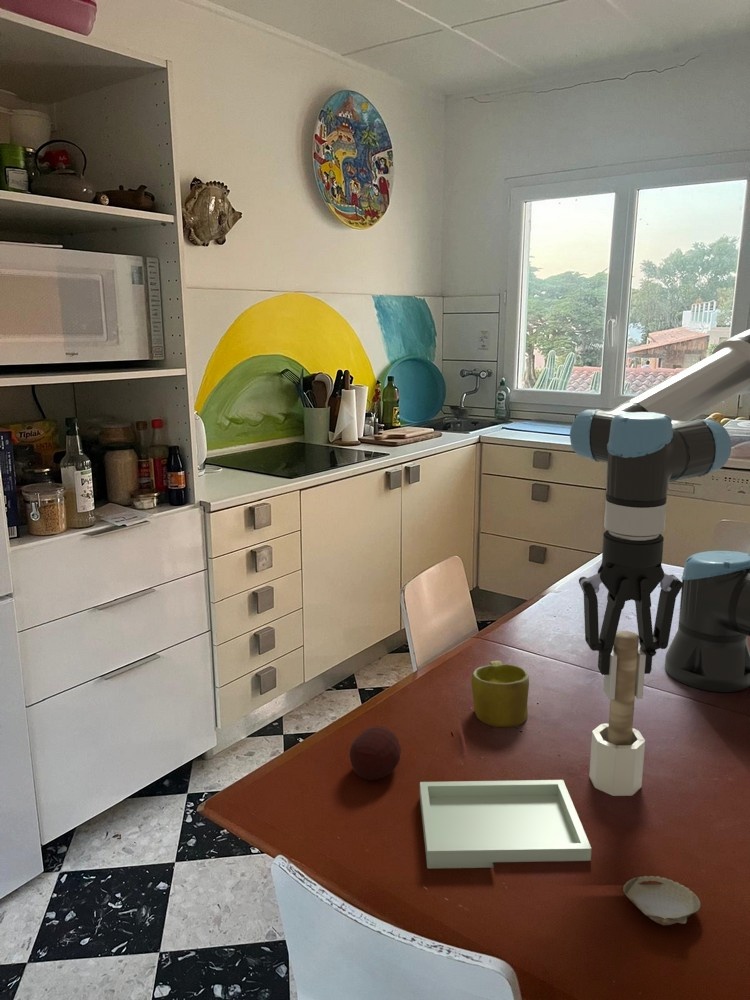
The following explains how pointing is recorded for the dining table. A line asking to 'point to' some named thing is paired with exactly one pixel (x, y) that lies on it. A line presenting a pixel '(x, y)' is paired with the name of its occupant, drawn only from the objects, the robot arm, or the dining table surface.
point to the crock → (616, 763)
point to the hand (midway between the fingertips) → (622, 693)
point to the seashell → (662, 899)
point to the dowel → (623, 689)
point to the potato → (375, 753)
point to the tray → (500, 823)
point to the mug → (500, 694)
